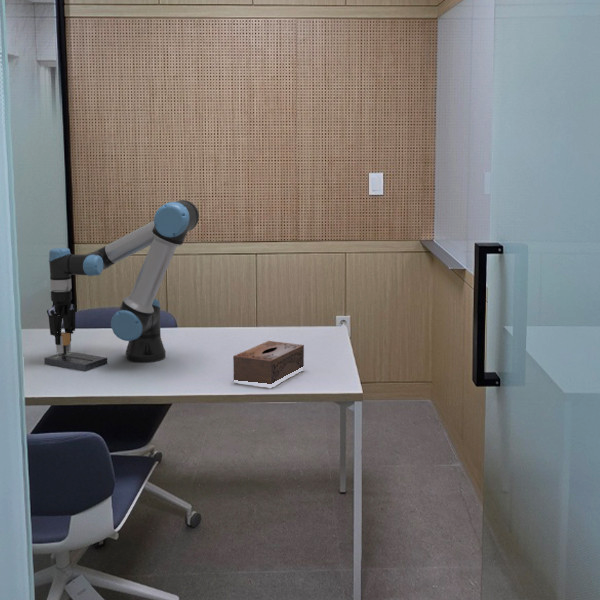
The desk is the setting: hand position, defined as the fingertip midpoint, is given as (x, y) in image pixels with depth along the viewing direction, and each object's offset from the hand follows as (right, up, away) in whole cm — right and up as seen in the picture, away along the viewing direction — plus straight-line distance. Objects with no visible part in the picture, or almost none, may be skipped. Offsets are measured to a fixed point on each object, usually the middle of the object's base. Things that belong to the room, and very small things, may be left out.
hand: (63, 351), depth 336 cm
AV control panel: (+5, -5, -2) cm, 7 cm away
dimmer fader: (0, -1, 0) cm, 1 cm away
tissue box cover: (+78, -8, -17) cm, 80 cm away
